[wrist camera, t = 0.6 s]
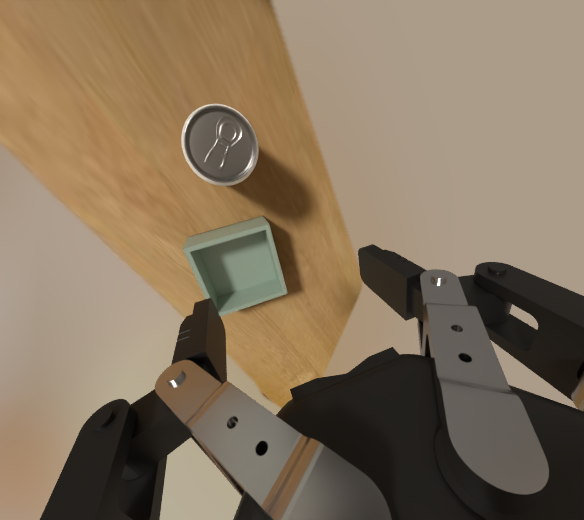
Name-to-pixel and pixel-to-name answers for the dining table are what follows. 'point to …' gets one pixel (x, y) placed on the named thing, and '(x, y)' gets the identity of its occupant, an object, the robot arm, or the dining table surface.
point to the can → (220, 144)
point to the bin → (236, 265)
